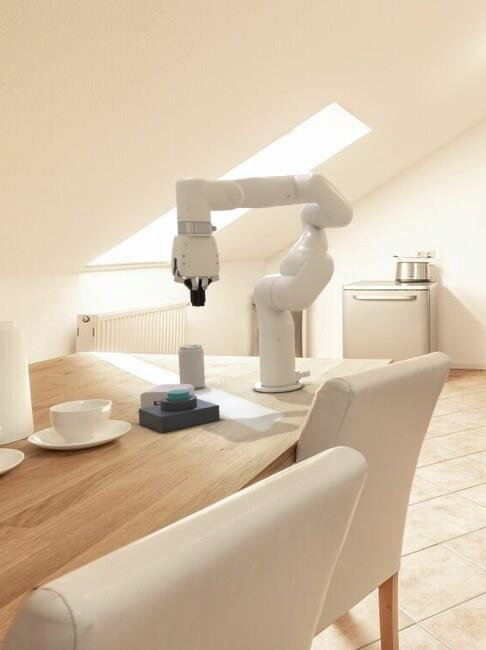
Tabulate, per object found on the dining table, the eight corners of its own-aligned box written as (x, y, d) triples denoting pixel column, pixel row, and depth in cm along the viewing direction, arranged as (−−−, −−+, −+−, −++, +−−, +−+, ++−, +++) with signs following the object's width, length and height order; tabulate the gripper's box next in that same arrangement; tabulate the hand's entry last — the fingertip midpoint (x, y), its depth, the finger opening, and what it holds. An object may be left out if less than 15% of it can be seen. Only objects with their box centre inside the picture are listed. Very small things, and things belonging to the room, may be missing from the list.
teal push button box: (196, 412, 150) (195, 389, 150) (219, 420, 144) (218, 396, 143) (139, 424, 140) (137, 399, 140) (161, 433, 134) (160, 407, 133)
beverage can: (209, 387, 178) (208, 345, 177) (188, 391, 172) (186, 348, 171) (196, 384, 181) (194, 343, 180) (175, 388, 176) (173, 346, 175)
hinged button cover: (204, 396, 166) (180, 411, 151) (168, 397, 166) (141, 411, 151) (203, 378, 166) (179, 391, 151) (167, 379, 165) (140, 392, 150)
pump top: (183, 396, 145) (183, 388, 144) (193, 399, 142) (192, 391, 142) (164, 400, 141) (164, 391, 141) (173, 403, 138) (173, 394, 138)
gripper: (216, 231, 159) (219, 303, 161) (155, 229, 148) (159, 307, 149) (232, 230, 155) (235, 304, 156) (170, 229, 143) (174, 309, 145)
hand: (198, 306), depth 153 cm, fingers closed
